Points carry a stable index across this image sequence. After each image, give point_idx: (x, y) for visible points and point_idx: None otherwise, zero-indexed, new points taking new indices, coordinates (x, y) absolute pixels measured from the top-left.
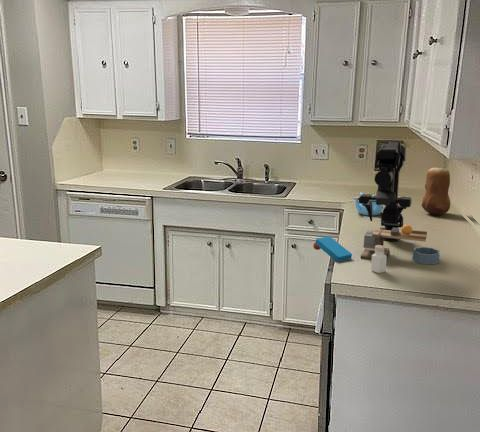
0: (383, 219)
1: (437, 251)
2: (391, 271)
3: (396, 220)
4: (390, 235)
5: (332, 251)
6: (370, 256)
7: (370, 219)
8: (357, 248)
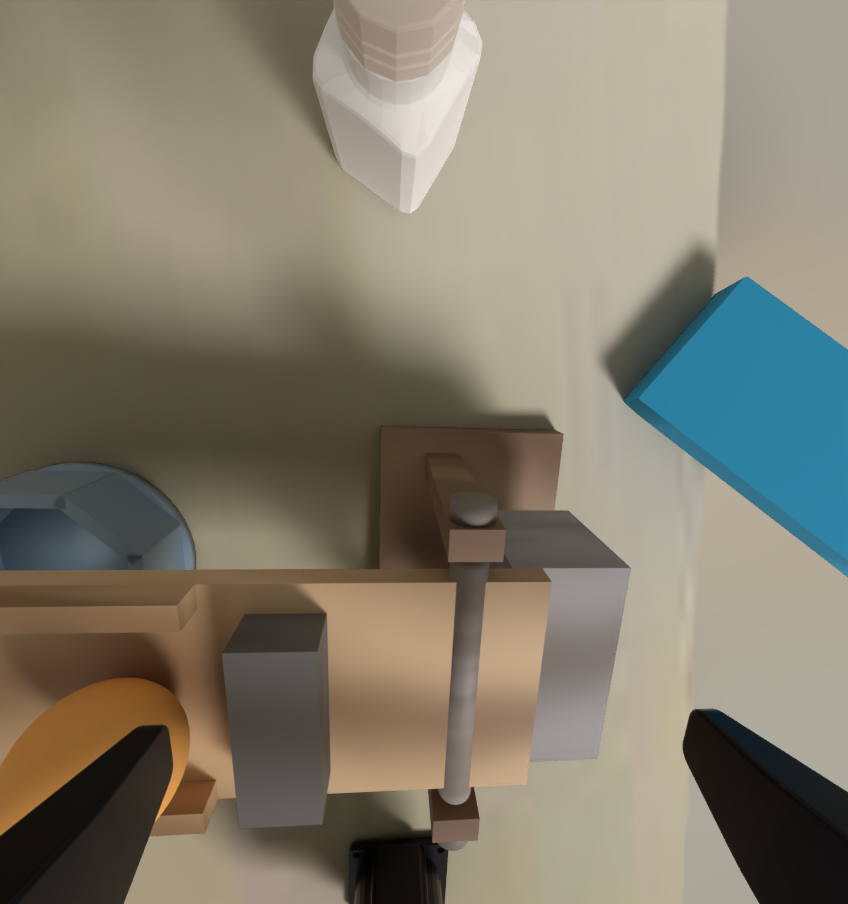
0: None
1: None
2: (293, 188)
3: (78, 799)
4: (328, 607)
5: (820, 337)
6: (490, 446)
7: (757, 737)
8: None
